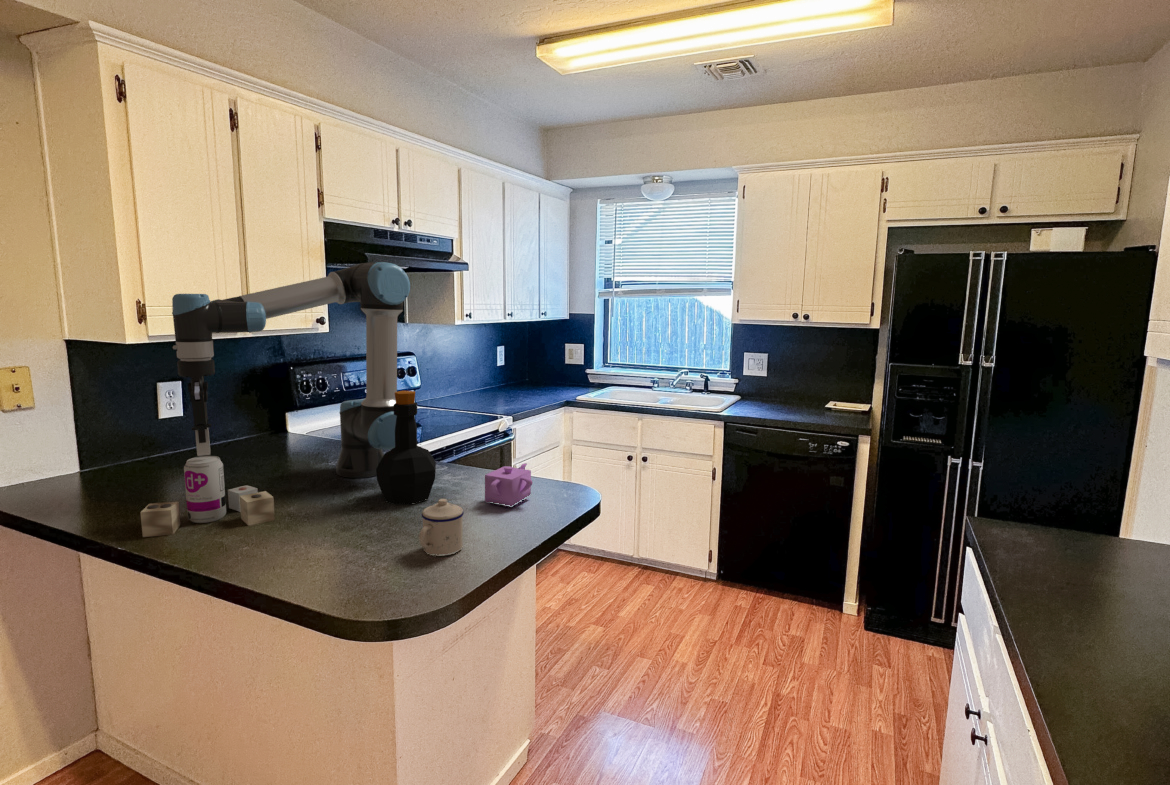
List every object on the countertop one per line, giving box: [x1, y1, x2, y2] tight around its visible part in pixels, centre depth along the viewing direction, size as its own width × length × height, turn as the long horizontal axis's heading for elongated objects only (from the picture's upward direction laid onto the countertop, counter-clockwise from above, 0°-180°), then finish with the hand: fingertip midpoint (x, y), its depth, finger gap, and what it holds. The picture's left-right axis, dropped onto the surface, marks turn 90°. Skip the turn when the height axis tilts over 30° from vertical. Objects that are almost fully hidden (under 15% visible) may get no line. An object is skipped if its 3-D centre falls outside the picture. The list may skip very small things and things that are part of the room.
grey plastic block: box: [227, 484, 259, 513], centre depth 163 cm, size 5×5×5 cm
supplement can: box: [183, 455, 227, 524], centre depth 154 cm, size 8×8×15 cm
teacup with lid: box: [418, 498, 465, 555], centre depth 138 cm, size 12×9×12 cm
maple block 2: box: [240, 490, 276, 526], centre depth 155 cm, size 6×6×6 cm
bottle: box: [376, 390, 437, 505], centre depth 172 cm, size 16×16×30 cm
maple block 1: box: [140, 501, 181, 538], centre depth 146 cm, size 6×6×6 cm
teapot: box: [484, 463, 533, 506], centre depth 172 cm, size 18×14×10 cm
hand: (203, 454), depth 153 cm, fingers closed
